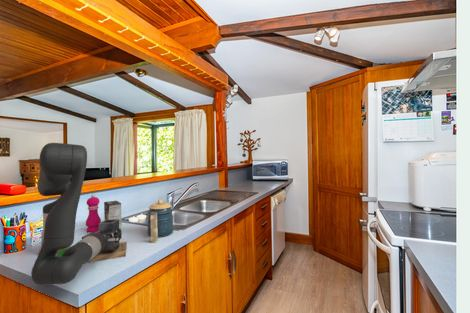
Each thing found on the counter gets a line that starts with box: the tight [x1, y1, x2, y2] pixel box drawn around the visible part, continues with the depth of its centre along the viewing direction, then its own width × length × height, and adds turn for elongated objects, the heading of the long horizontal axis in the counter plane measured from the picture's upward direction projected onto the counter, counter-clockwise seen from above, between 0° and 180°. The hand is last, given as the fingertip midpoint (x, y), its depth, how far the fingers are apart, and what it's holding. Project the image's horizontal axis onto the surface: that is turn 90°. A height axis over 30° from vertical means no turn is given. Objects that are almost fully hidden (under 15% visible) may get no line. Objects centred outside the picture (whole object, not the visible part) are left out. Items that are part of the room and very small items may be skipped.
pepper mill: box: [85, 194, 102, 234], centre depth 124 cm, size 7×7×20 cm
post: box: [150, 212, 159, 244], centre depth 106 cm, size 2×2×14 cm
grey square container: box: [98, 219, 120, 253], centre depth 95 cm, size 6×7×12 cm
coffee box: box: [103, 200, 123, 232], centre depth 120 cm, size 9×6×16 cm
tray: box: [89, 241, 128, 263], centre depth 94 cm, size 12×12×2 cm
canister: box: [146, 199, 175, 238], centre depth 118 cm, size 13×13×18 cm
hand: (112, 231), depth 97 cm, fingers closed on grey square container, 5 cm apart
